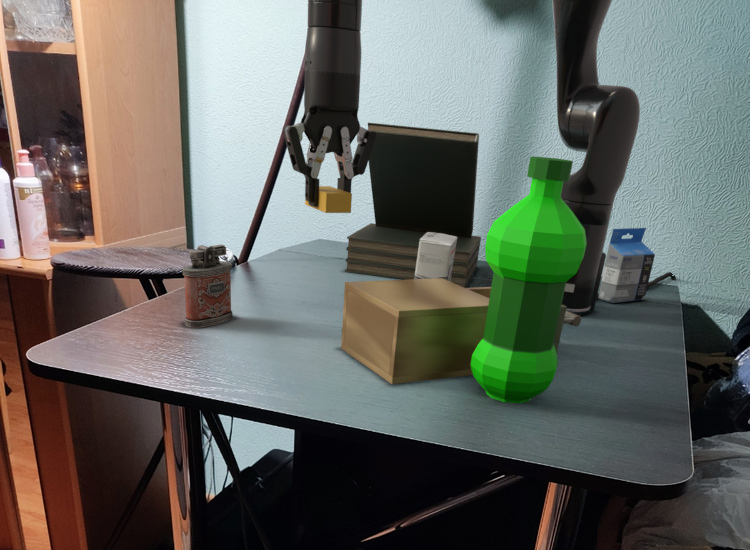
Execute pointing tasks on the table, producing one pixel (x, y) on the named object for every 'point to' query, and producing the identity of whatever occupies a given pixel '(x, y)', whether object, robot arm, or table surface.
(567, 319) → the wooden drawer
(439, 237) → the ink box
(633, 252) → the label tape box
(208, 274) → the lighter
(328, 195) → the yellow block
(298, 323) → the table surface
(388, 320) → the tan rectangular box
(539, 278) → the plastic bottle
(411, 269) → the stack of books
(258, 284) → the table surface
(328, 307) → the table surface
